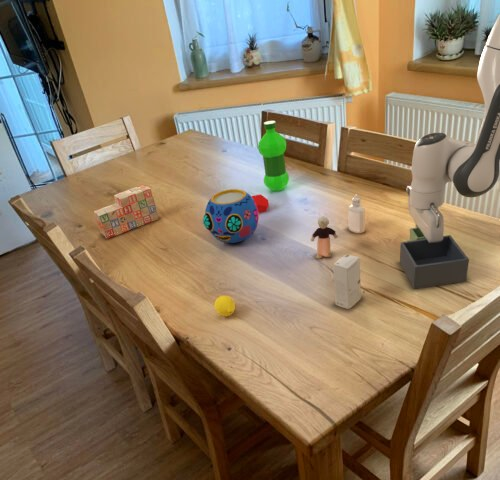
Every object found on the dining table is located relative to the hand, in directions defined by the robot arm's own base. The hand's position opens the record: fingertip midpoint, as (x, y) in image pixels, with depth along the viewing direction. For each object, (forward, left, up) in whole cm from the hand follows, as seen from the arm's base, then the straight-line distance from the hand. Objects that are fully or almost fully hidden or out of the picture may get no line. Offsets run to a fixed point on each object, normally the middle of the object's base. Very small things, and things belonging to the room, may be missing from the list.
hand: (423, 242), depth 143 cm
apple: (+46, -42, -2) cm, 63 cm away
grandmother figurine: (+28, -3, -2) cm, 28 cm away
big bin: (+2, +14, -2) cm, 14 cm away
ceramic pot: (+55, -23, -2) cm, 60 cm away
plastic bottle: (+38, -60, -2) cm, 71 cm away
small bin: (0, 0, -2) cm, 2 cm away
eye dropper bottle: (+16, -16, -2) cm, 23 cm away
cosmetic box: (+26, +22, -2) cm, 34 cm away
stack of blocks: (+95, -46, -2) cm, 106 cm away
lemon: (+58, +20, -2) cm, 61 cm away
